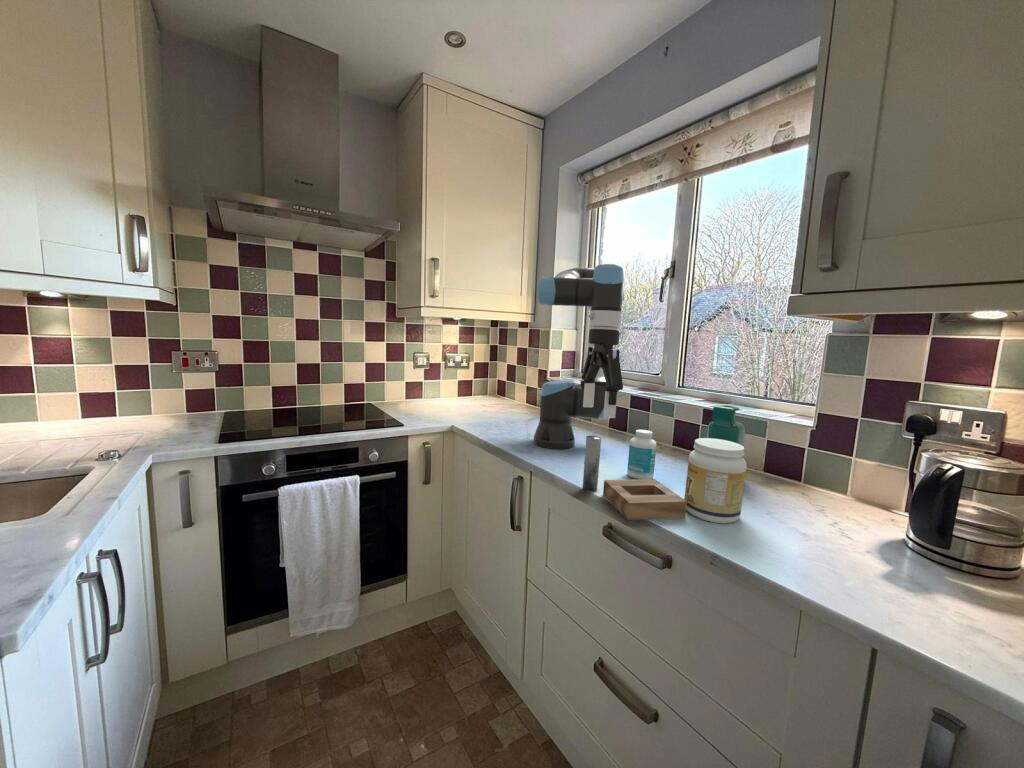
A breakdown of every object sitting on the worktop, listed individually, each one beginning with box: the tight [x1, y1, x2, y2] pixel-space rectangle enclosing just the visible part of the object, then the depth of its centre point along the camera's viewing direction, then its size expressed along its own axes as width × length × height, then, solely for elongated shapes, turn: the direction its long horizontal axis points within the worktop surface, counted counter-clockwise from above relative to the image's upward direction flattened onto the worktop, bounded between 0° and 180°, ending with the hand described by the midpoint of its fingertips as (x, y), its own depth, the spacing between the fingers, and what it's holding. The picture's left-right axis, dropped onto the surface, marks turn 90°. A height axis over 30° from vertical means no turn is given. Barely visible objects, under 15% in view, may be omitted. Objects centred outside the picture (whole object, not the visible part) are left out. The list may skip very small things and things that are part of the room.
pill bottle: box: [626, 429, 657, 480], centre depth 120 cm, size 8×7×14 cm
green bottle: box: [706, 405, 746, 447], centre depth 121 cm, size 10×8×22 cm
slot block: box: [602, 478, 687, 521], centre depth 99 cm, size 14×14×4 cm
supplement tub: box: [683, 437, 748, 524], centre depth 96 cm, size 12×12×17 cm
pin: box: [581, 435, 602, 493], centre depth 107 cm, size 4×4×14 cm
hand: (597, 412), depth 106 cm, fingers open, 13 cm apart
